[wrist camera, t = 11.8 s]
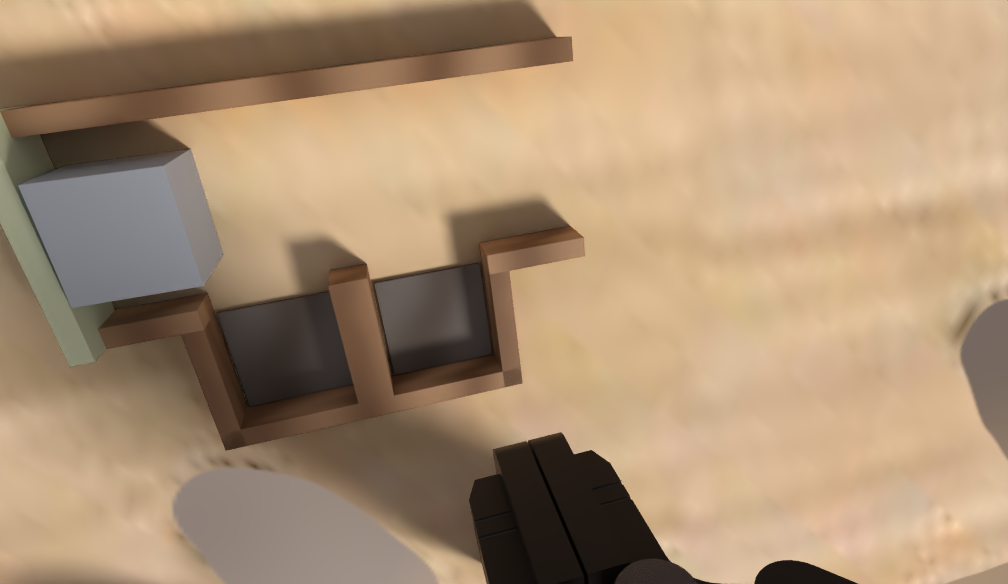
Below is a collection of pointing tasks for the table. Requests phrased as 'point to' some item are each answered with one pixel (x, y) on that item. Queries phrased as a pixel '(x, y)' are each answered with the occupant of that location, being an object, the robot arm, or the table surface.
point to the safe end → (43, 251)
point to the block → (125, 226)
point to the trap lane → (334, 280)
